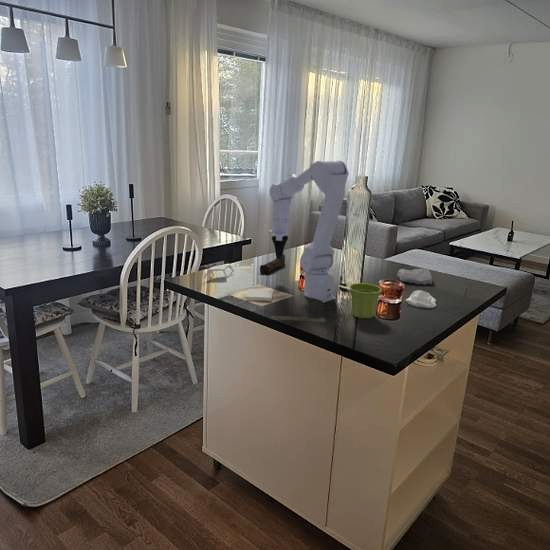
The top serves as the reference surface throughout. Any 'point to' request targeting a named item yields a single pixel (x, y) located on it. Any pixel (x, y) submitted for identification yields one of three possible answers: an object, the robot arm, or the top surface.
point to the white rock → (421, 299)
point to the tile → (259, 295)
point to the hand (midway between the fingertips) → (279, 256)
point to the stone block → (415, 276)
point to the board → (276, 297)
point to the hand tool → (272, 265)
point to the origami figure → (219, 268)
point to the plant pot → (364, 299)
